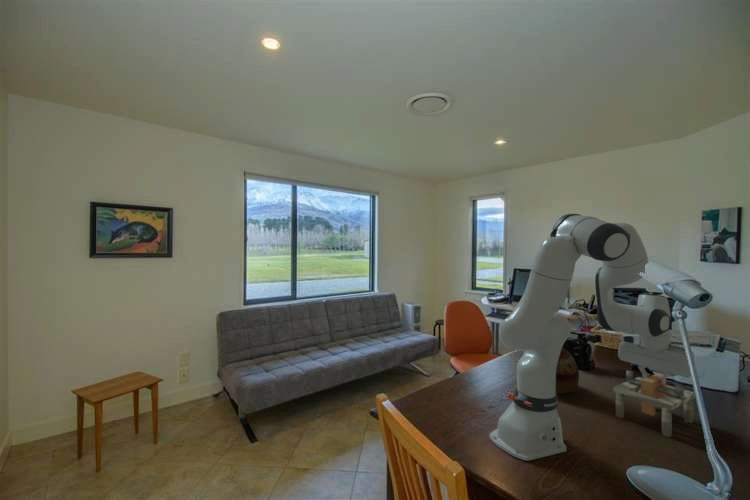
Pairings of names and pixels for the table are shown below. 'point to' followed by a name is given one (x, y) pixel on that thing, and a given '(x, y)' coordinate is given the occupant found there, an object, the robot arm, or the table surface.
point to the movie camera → (582, 348)
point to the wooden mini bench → (651, 392)
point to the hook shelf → (656, 400)
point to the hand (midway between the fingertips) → (653, 381)
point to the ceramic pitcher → (566, 373)
